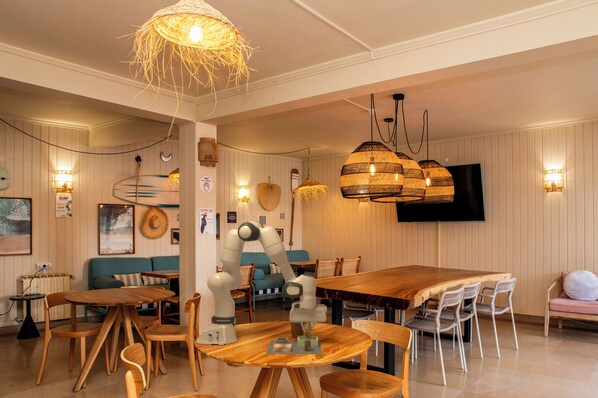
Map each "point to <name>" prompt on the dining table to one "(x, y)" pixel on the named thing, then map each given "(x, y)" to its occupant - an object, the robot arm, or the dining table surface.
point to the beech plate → (282, 348)
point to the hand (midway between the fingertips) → (307, 330)
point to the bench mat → (294, 349)
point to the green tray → (302, 339)
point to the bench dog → (307, 345)
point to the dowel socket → (281, 340)
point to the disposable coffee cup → (297, 329)
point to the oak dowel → (307, 329)
